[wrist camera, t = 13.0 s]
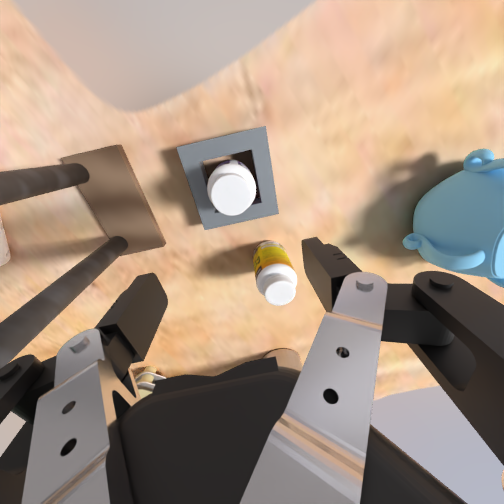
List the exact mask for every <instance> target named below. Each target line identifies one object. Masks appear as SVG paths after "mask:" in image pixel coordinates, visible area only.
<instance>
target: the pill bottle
mask: <svg viewBox="0 0 504 504" xmlns="http://www.w3.org/2000/svg"><path fill="white" fill-rule="evenodd" d="M207 191H208V196H209V198H210V201H211V202H212V204H213V205H214V206H215V208H216V209H217V210H218V211H220V212H221V213H223V214H225V215H230V216H234V215H238V214H241V213H242V212H244V211H245V210H246V209H247V208H248V207H249V206H250V205H251V204H252V203H253V201H254V198H255V195H256V184H255V180H254V178H253V176H252V174H251V172H250V171H249V169H248V168H247V167H246V165H245V164H243V163H242V162H240V161H237V160H226V161H223V162H222V163H220V164H219V165H218V166H217V167H216V168H215V170H214V171H213V172H212V174H211V176H210V178H209V180H208V185H207Z"/></svg>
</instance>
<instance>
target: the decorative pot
mask: <svg viewBox="0 0 504 504" xmlns="http://www.w3.org/2000/svg"><path fill="white" fill-rule="evenodd" d="M493 159H494V154H493V152H492V151H490V150H488V149H479V150H475V151H473V152H471V153H470V154H469V155H468V156H467V157H466V159H465V160H464V163H463V167H464V170H462V171H460V172H458V173H456V174H454V175H452V176H450V177H449V178H447V179H445V180H444V181H442V182H440V183H439V184H437V185H436V186H435V187H433V188H432V189H431V190H429V191H428V192H427V193H426V194H425V195H424V196H423V197H422V198H421V200H420V201H419V202H418V204H417V206H416V208H415V211H414V217H413V232H414V233H411V234H409V235H407V236H406V237H405V238H404V239H403V245H404V247H405V248H406V249H410V250H414V249H418V252H419V254H420V255H421V256H422V258H423V259H425V260H426V261H428V262H430V263H431V264H434V265H436V266H438V267H441V268H444V269H447V270H450V271H453V272H457V273H462V274H467V275H474V276H481V277H486V278H488V279H489V280H490V281H492V282H493V283H495V284H496V285H498V286H500V287H503V288H504V158H503V159H496V160H493ZM481 160H482V161H481Z"/></svg>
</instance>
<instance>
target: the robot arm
mask: <svg viewBox="0 0 504 504" xmlns="http://www.w3.org/2000/svg"><path fill="white" fill-rule="evenodd" d="M302 253H303V262H304V269H305V273H306V275H307V277H308V279H309V281H310V283H311V285H312V286H313V288H314V290H315V292H316V294H317V296H318V297H319V299H320V301H321V303H322V305H323V306H324V308H325V310H326V313H325V315H324V317H323V320H322V322H321V324H320V327H319V329H318V332H317V334H316V337H315V339H314V341H313V344H312V346H311V349H310V351H309V353H308V356H307V358H306V361H305V363H304V366H302V363H301V359H300V356H299V354H298V353H297V352H295V351H293V350H290V349H278V350H274V351H272V352H270V353H268V354H267V355H265V356H264V358H263V359H259V360H255V361H250V362H245V363H243V364H241V365H239V366H237V367H235V368H233V369H230V370H228V371H226V372H224V373H222V374H220V375H217V376H213V377H211V376H198V375H181V376H176V377H171V378H166V379H161V380H156V383H155V386H154V389H153V392H152V393H151V394H149V395H147V396H145V397H144V398H142V399H141V397H140V394H139V391H138V388H137V385H136V382H135V379H134V376H133V373H132V371H131V370H130V369H129V367H130V365H131V363H136V362H141V361H144V359H145V356H146V354H147V352H148V349H149V347H150V345H151V343H152V340H153V338H154V336H155V333H156V331H157V329H158V326H159V324H160V322H161V319H162V317H163V315H164V312H165V310H166V308H167V305H168V299H167V295H166V293H165V291H164V289H163V287H162V285H161V284H160V282H159V280H158V278H157V276H156V275H155V274H154V273H149V274H144V275H140V276H137V277H136V279H135V280H134V281H133V282H132V284H131V285H130V286H129V288H128V289H127V290H125V291H124V292H123V293H122V294H121V295H120V296H119V297H118V299H117V300H116V303H114V304H113V305H112V306H111V309H109V310H108V311H107V313H106V314H105V315H104V317H103V318H102V319H101V320H100V322H99V323H98V324H97V326H96V327H95V328H94V329H89V330H86V331H83V332H81V333H79V334H78V335H76V336H74V337H73V338H71V339H70V340H69V341H68V342H66V343H65V344H64V345H63V346H62V347H61V349H60V350H59V352H58V353H57V356H54V357H52V358H50V359H47V360H45V361H43V362H40V361H39V360H38V359H37V358H36V357H35V356H34V355H25V356H22V357H19V358H17V359H15V360H13V361H12V362H10V363H8V364H7V365H5V366H4V367H2V368H1V369H0V424H1V422H2V421H3V420H4V419H5V418H6V416H7V415H8V414H9V413H10V411H12V412H13V413H15V414H16V415H18V416H19V417H21V418H22V419H24V420H25V421H26V423H25V424H24V425H23V427H22V428H21V429H20V431H19V432H18V434H17V435H16V437H15V438H14V439H13V441H12V442H11V443H10V445H9V446H8V447H7V449H6V450H5V452H4V453H3V454H2V456H1V457H0V504H467V503H466V502H465V501H463V500H462V499H461V498H460V497H459V496H457V495H456V494H455V493H454V492H453V491H451V490H450V489H449V488H448V487H446V486H445V485H444V484H443V483H442V482H440V481H439V480H438V479H437V478H435V477H434V476H433V475H432V474H431V473H429V472H428V471H427V470H425V469H424V468H423V467H422V466H421V465H420V464H418V463H417V462H416V461H415V460H413V459H412V458H411V457H409V456H408V455H407V454H406V453H405V452H404V451H402V450H401V449H400V448H399V447H398V446H396V445H395V444H394V443H393V442H391V441H390V440H389V439H388V438H387V437H385V436H384V435H383V434H382V433H380V432H379V431H378V430H377V429H375V428H374V427H373V426H372V425H371V424H370V420H371V412H372V405H373V397H374V389H375V381H376V373H377V366H378V358H379V350H380V342H381V341H386V342H397V343H407V344H408V345H409V347H410V348H411V349H412V350H413V352H414V353H415V354H416V355H417V357H418V358H419V359H420V360H421V362H422V363H423V364H424V365H425V367H426V368H427V369H428V371H429V372H430V373H431V374H432V376H433V377H434V378H435V379H436V381H437V382H438V383H439V384H440V386H441V387H442V388H443V390H444V391H445V392H446V393H447V394H448V396H449V397H450V398H451V400H452V401H453V402H454V403H455V405H456V406H457V407H458V408H459V410H460V411H461V412H462V414H463V415H464V416H465V417H466V418H467V420H468V421H469V422H470V424H471V425H472V426H473V427H474V429H475V430H476V431H477V432H478V434H479V435H480V436H481V438H482V439H483V440H484V441H485V443H486V444H487V445H488V446H489V448H490V449H491V450H492V451H493V453H494V454H495V455H496V457H497V458H498V459H499V460H500V461H501V463H502V464H503V465H504V305H503V304H501V303H499V302H498V301H496V300H495V299H493V298H492V297H490V296H488V295H487V294H485V293H484V292H482V291H480V290H479V289H477V288H476V287H474V286H473V285H471V284H469V283H468V282H466V281H465V280H463V279H461V278H460V277H457V276H455V275H452V274H449V273H445V272H439V271H425V272H421V273H418V274H417V275H415V277H414V280H413V284H389V283H387V282H386V281H385V280H384V279H383V278H382V277H380V276H378V275H376V274H373V273H368V272H362V271H361V270H360V269H359V268H358V267H357V266H356V265H355V264H354V263H353V262H352V261H351V260H350V259H349V258H347V256H346V255H345V254H344V253H343V252H342V251H341V250H340V249H339V248H338V247H336V246H333V245H331V244H325V245H324V244H323V243H322V242H321V241H320V240H319V239H318V238H317V237H313V238H309V239H304V240H302ZM502 486H503V489H504V470H503V473H502Z"/></svg>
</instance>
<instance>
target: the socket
mask: <svg viewBox="0 0 504 504" xmlns="http://www.w3.org/2000/svg"><path fill="white" fill-rule="evenodd" d="M176 148H177V151H178V154H179V157H180V160H181V162H182V165H183V168H184V171H185V174H186V177H187V180H188V183H189V186H190V189H191V192H192V194H193V197H194V200H195V203H196V206H197V209H198V212H199V215H200V218H201V221H202V224H203V227H204V229H205V230H208V229H212V228H217V227H221V226H226V225H230V224H235V223H239V222H244V221H248V220H253V219H257V218H262V217H266V216H271V215H275V214H279V212H278V206H277V199H276V192H275V185H274V179H273V172H272V165H271V158H270V152H269V145H268V138H267V132H266V126H264V127H259V128H255V129H251V130H247V131H243V132H238V133H234V134H230V135H226V136H222V137H217V138H213V139H209V140H205V141H201V142H196V143H192V144H188V145H184V146H180V147H176ZM247 150H251V155H252V160H253V165H254V171H255V176H256V181H257V187H258V192H259V197H260V198H256V199H254V201H253V203H252V204H251V205H250V206H249V207H248V208H247V209H246V210H245V211H244V212H242V213H241V214H238V215H234V216H230V215H225V214H223V213H221V212H220V211H218V210H217V209H216V208H215V206H214V205H213V204H212V202H211V201H210V198H209V196H208V191H207V185H208V177H207V174H206V171H205V167H204V164H203V161H205V160H209V159H213V158H217V157H222V156H226V155H230V154H235V153H239V152H243V151H247Z"/></svg>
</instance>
